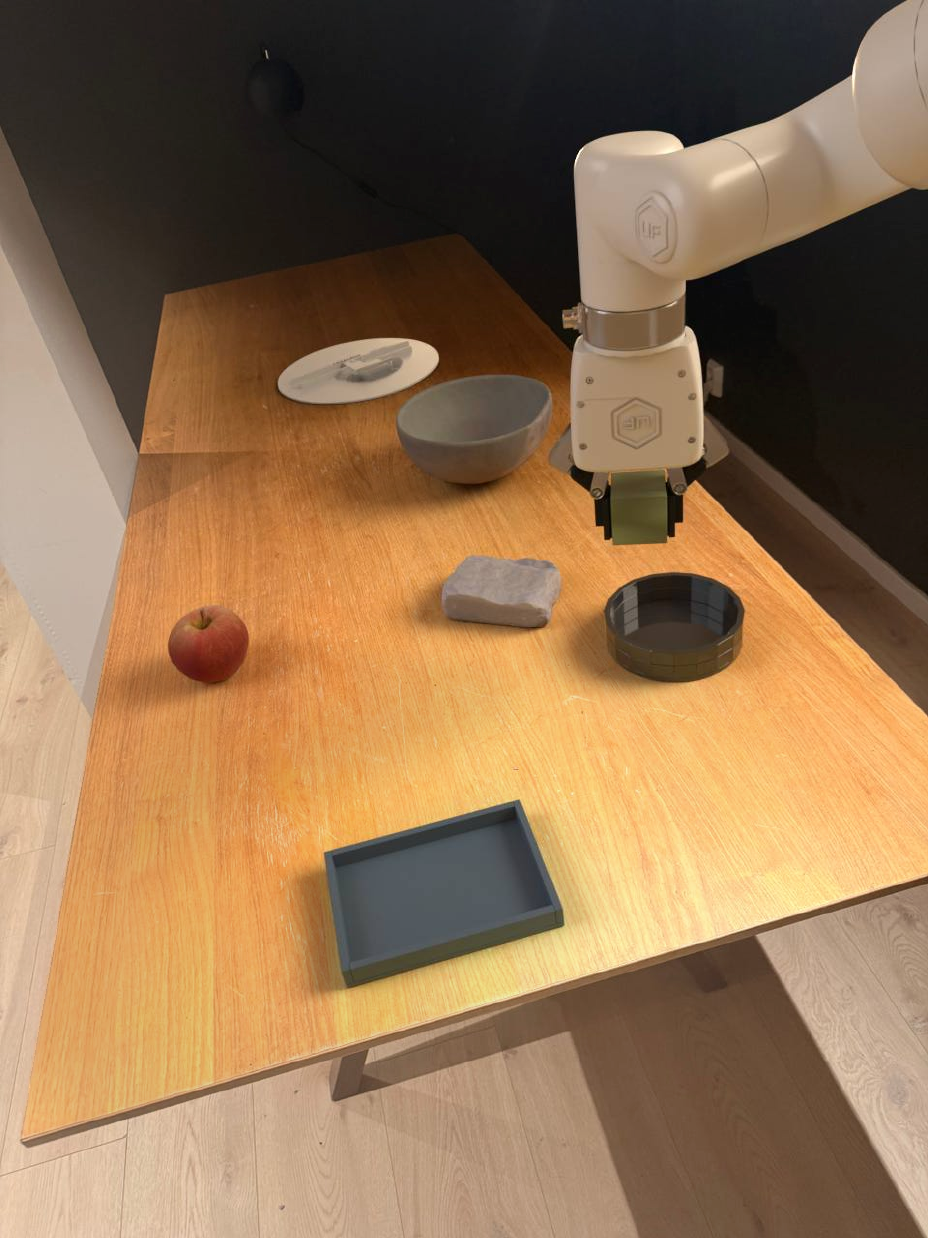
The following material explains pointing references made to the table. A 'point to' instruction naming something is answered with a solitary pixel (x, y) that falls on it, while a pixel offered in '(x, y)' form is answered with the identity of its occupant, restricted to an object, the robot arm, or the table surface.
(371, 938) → the tray
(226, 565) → the table surface
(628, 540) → the block
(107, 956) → the table surface
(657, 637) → the pan
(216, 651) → the apple
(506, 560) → the stone block
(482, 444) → the bowl
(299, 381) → the plate
